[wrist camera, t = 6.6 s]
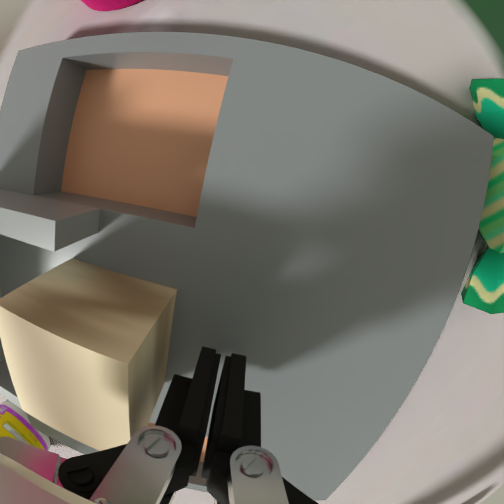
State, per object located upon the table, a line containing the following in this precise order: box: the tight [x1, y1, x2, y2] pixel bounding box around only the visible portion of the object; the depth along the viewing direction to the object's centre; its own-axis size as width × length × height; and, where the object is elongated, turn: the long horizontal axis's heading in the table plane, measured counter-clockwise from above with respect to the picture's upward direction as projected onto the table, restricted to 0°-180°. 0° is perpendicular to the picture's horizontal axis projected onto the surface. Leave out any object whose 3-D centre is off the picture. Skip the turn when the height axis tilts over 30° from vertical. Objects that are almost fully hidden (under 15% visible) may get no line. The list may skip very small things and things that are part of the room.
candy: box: [461, 79, 504, 314], centre depth 11 cm, size 12×3×4 cm
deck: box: [0, 32, 494, 500], centre depth 11 cm, size 24×26×8 cm
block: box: [0, 258, 177, 451], centre depth 9 cm, size 5×5×5 cm
